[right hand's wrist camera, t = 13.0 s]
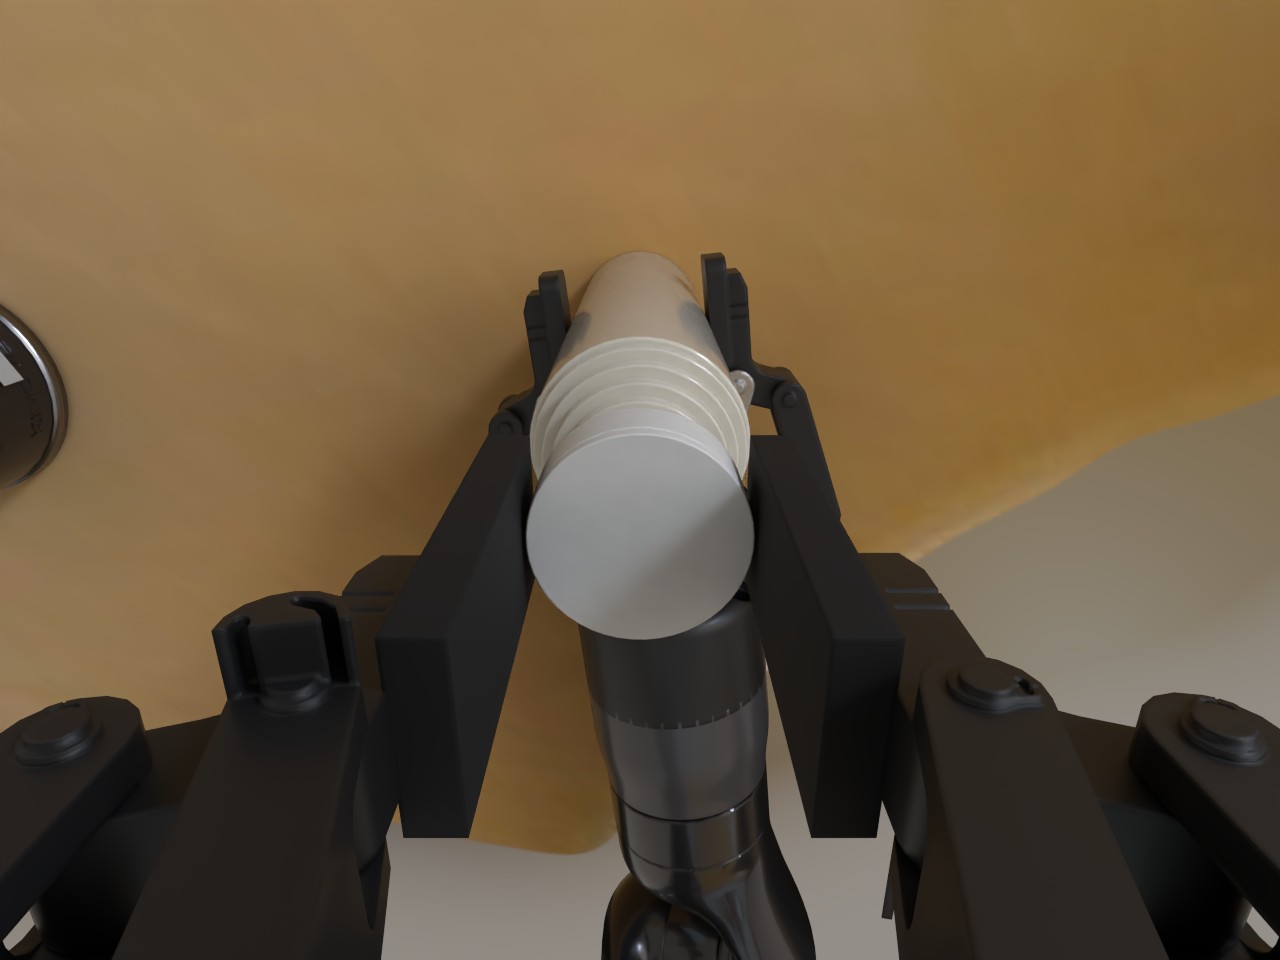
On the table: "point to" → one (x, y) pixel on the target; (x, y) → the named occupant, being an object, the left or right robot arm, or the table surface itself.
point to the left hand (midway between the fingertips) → (630, 266)
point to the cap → (640, 525)
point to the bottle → (640, 359)
